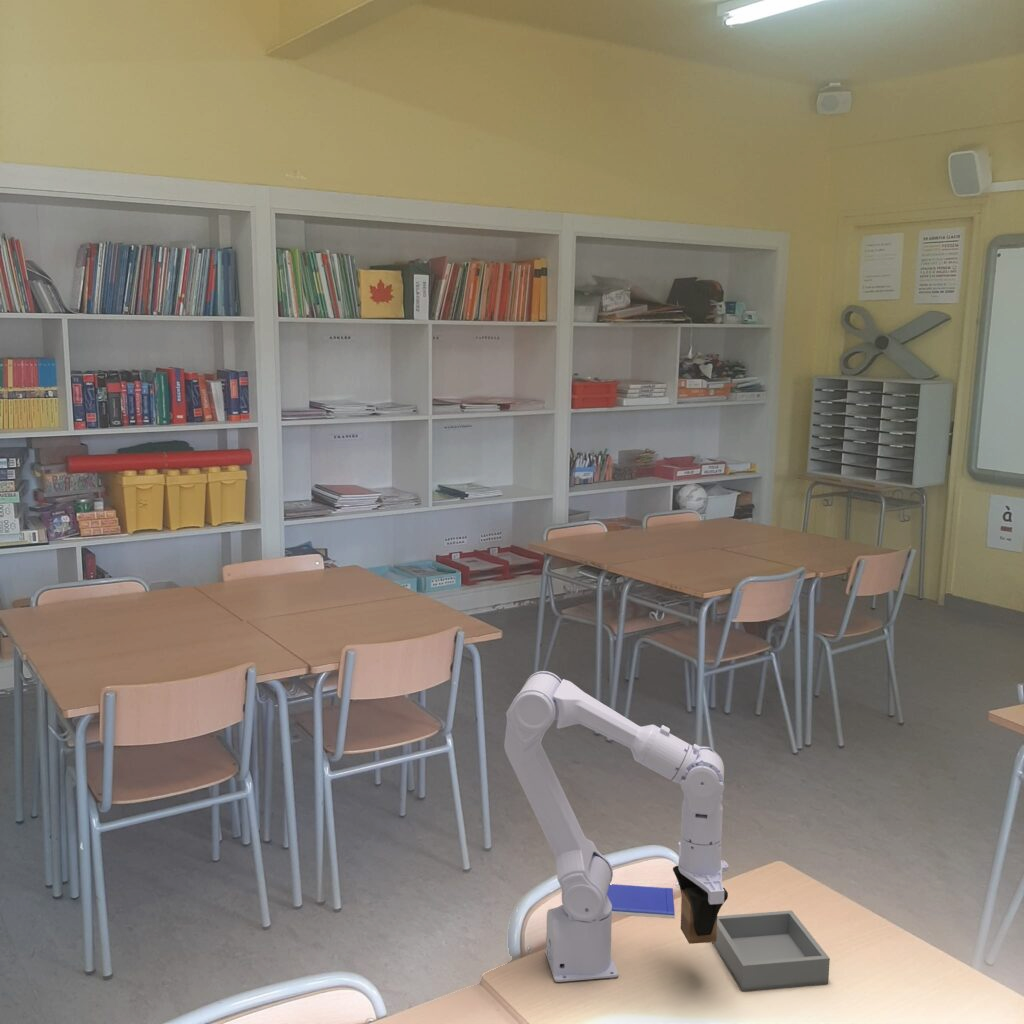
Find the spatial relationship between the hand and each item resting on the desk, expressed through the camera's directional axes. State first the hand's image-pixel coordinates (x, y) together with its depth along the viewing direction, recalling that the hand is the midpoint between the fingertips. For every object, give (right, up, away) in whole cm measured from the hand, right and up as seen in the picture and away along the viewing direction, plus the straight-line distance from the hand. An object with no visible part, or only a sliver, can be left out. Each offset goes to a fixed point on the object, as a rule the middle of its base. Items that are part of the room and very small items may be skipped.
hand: (698, 925), depth 146 cm
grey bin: (+11, -8, +6) cm, 15 cm away
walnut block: (0, -2, 0) cm, 2 cm away
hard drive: (-6, -6, +22) cm, 24 cm away
